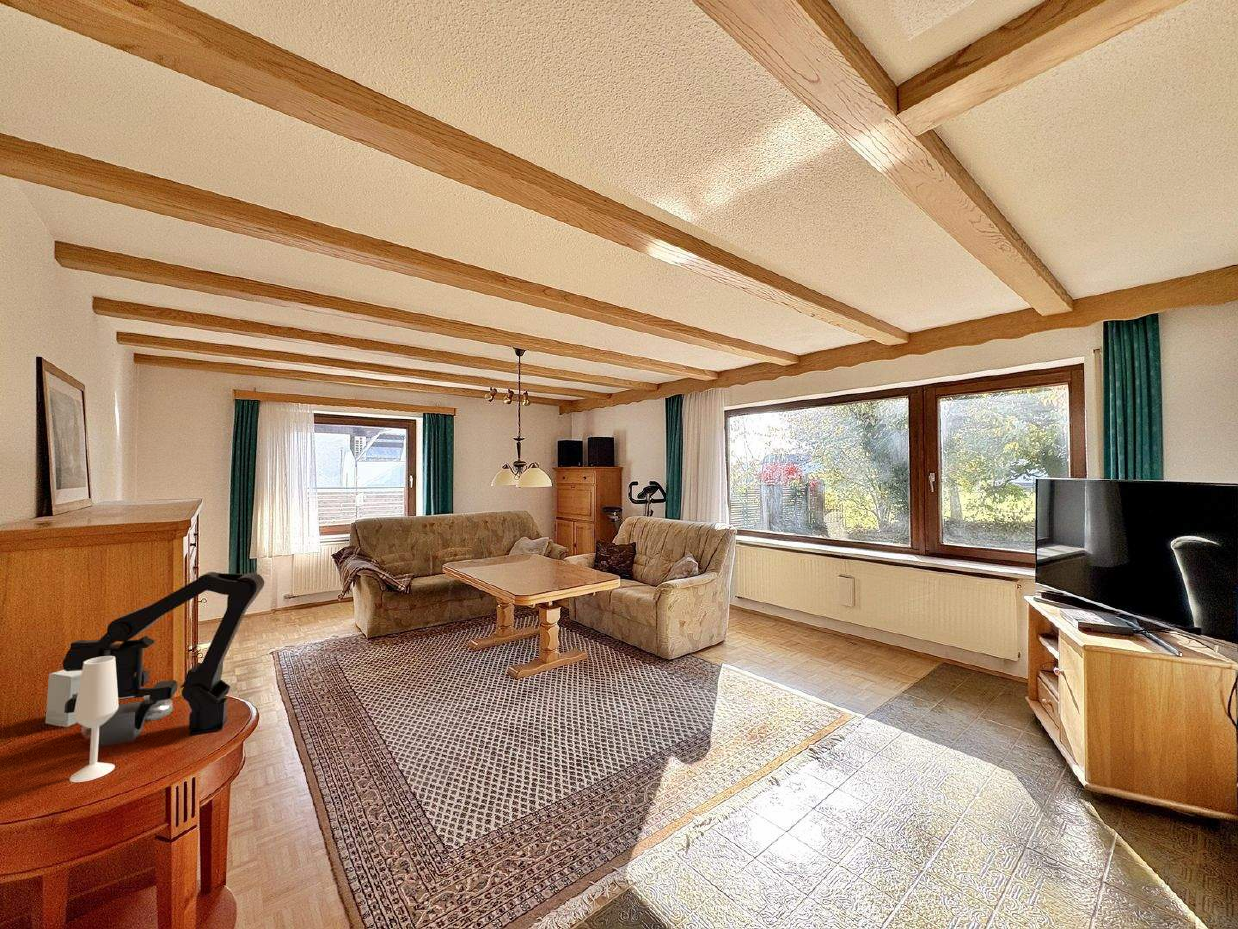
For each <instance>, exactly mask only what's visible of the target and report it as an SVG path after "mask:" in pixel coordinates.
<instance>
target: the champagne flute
mask: <svg viewBox="0 0 1238 929" xmlns="http://www.w3.org/2000/svg"><path fill="white" fill-rule="evenodd" d="M118 707H119V700H118V689H117V675H116V661H115V657H114V656H103V657H97V658H92V659H89V660H86V661H85V662H84V663H83V669H82V674H81V679H80V684H79V689H78V695H77V700H76V705H75V710H74V716H73V717H74V719H75V721H76V722H77V723H76V724H79V725H81V726H82V725H83V726H85V727H87V728H92V729H91V737H90V746H89V748H90V749H89V750H90V751H89V764H87V765H86V766H84V767H83V768H81V769H80V770H78V771H76V772H75V773H74V774H72V775H71V776H70V777H69V781H70V782H71V783H81V782H82V783H83V782H88V781H92V780H95V779H98V778H102V777H103V776H106V775H107V774H109V773H111V772H112V771H113V770H115V768H116V767H115V764H113V763H110V762H99V761H98V757H99V738H100V734H99V726H101V725H103V724H104V723H105V722H106V721H107V720H109V719H110V718H111V717H112V716H113V715H114V714H115V712H116V711H117V710H118Z"/></svg>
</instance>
